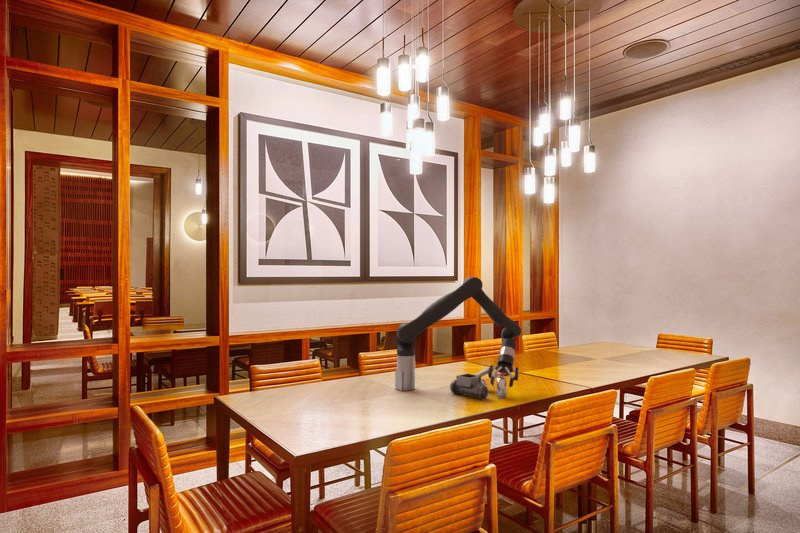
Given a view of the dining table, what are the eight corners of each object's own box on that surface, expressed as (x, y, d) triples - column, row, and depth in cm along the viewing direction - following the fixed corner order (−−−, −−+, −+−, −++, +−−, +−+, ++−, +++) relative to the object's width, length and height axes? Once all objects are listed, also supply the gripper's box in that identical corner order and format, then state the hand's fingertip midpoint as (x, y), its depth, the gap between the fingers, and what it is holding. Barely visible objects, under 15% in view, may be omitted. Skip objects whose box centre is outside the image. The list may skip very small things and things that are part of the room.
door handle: (461, 401, 250) (496, 384, 246) (453, 387, 251) (488, 369, 247) (465, 392, 267) (497, 376, 263) (457, 379, 268) (490, 362, 264)
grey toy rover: (489, 398, 234) (489, 377, 234) (478, 401, 228) (478, 380, 228) (459, 391, 247) (459, 371, 247) (448, 394, 241) (448, 374, 241)
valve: (501, 398, 233) (501, 374, 233) (495, 396, 236) (495, 372, 236) (508, 397, 235) (508, 373, 235) (501, 395, 239) (501, 371, 239)
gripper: (491, 352, 246) (485, 379, 235) (519, 354, 240) (515, 382, 229) (493, 361, 251) (487, 388, 240) (521, 363, 245) (517, 391, 234)
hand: (501, 385), depth 235 cm, fingers open, 8 cm apart
